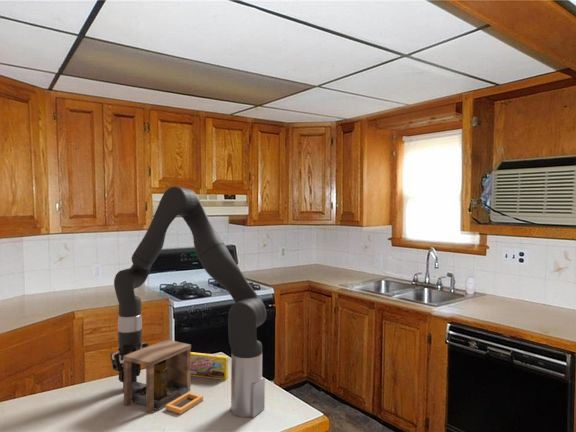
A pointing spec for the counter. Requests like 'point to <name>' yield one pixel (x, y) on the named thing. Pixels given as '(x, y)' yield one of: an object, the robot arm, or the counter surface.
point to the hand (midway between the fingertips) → (129, 378)
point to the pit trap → (184, 403)
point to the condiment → (160, 380)
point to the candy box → (209, 366)
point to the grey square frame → (141, 389)
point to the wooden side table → (148, 356)
